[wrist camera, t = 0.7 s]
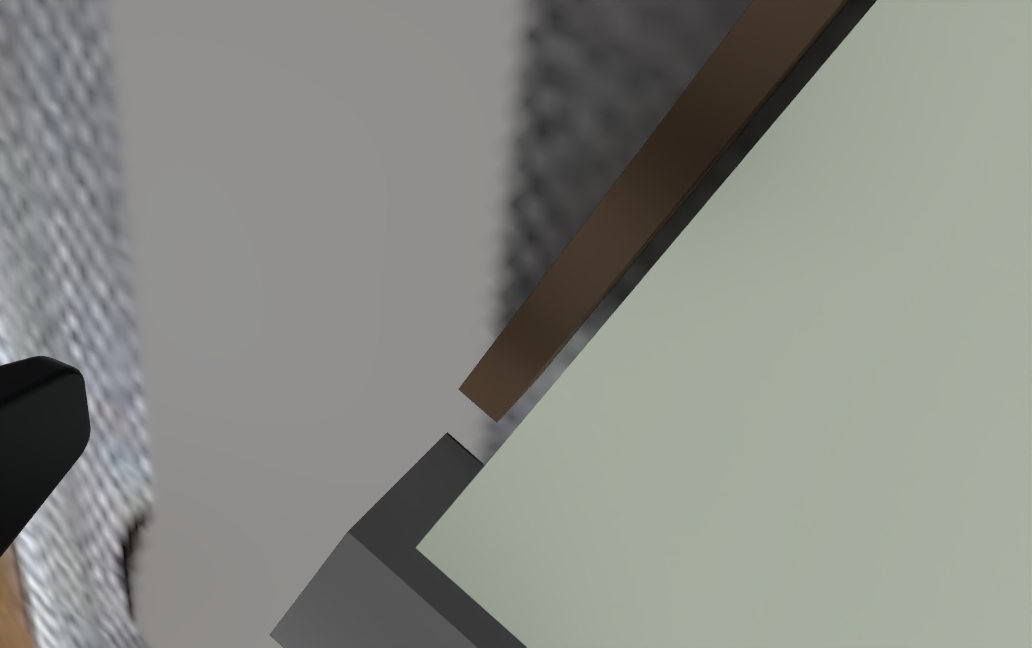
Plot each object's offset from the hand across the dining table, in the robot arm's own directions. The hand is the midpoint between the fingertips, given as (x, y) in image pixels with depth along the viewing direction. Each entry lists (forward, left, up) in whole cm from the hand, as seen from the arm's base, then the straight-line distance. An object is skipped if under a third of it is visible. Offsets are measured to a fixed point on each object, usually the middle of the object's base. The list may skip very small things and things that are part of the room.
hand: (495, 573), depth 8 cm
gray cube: (-14, 0, -14) cm, 19 cm away
